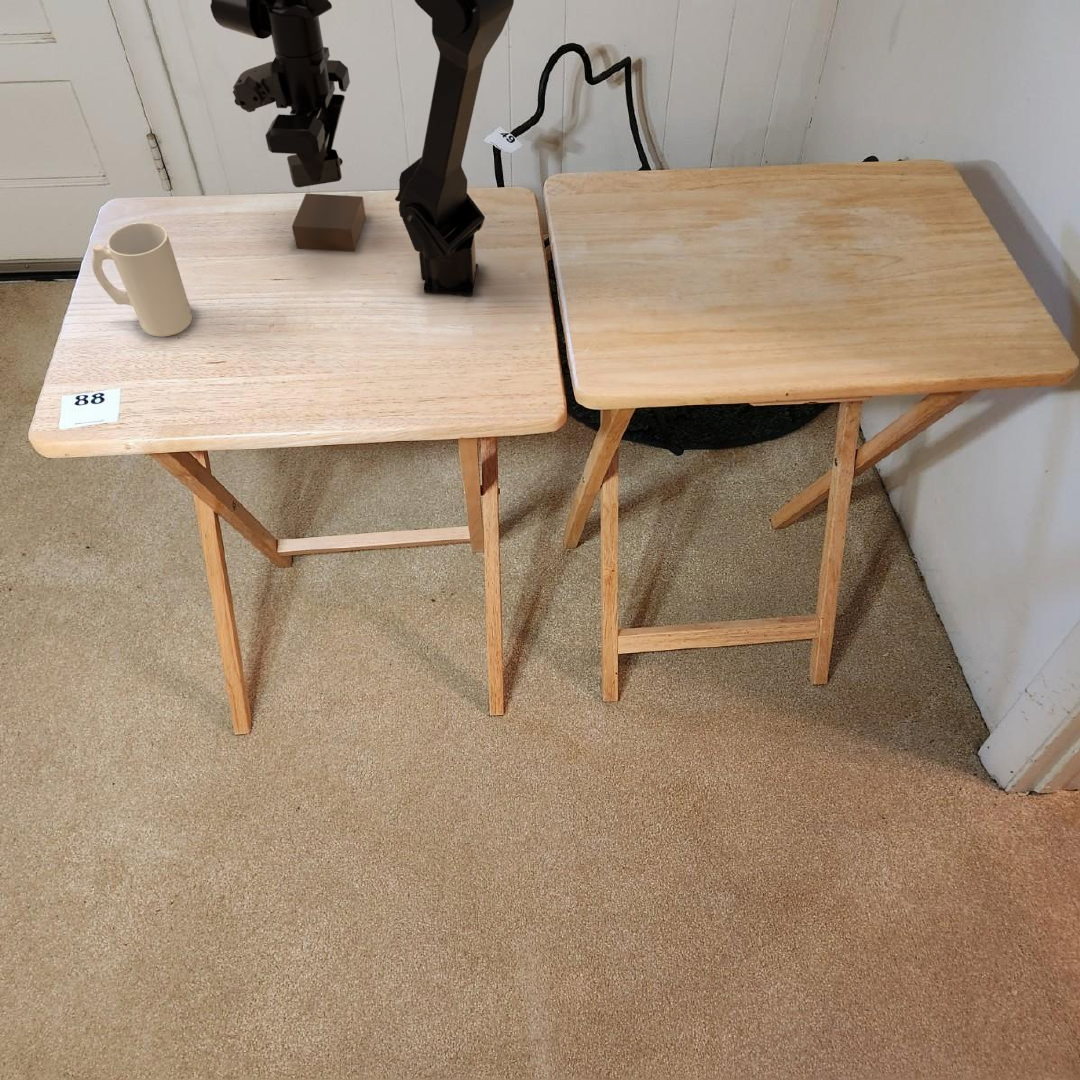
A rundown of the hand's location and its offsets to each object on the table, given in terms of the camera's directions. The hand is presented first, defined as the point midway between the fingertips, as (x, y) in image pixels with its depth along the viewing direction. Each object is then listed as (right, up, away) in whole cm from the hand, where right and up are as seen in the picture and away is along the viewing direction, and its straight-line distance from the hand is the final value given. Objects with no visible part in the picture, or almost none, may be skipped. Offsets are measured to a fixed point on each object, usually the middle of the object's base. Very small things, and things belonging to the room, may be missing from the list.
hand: (320, 169), depth 127 cm
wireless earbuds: (0, -1, +1) cm, 1 cm away
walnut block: (0, -6, +8) cm, 10 cm away
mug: (-20, -21, -4) cm, 29 cm away
